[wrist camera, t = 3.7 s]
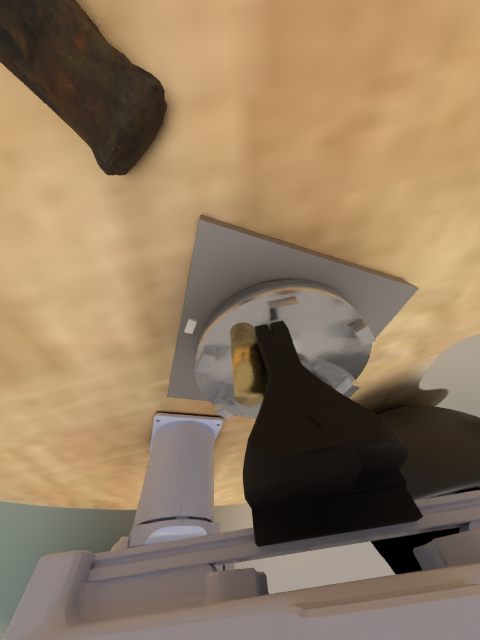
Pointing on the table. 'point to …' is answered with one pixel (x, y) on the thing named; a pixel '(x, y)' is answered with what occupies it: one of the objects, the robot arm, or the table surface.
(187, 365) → the base plate
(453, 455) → the coal bowl
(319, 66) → the table surface
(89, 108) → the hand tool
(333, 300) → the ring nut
